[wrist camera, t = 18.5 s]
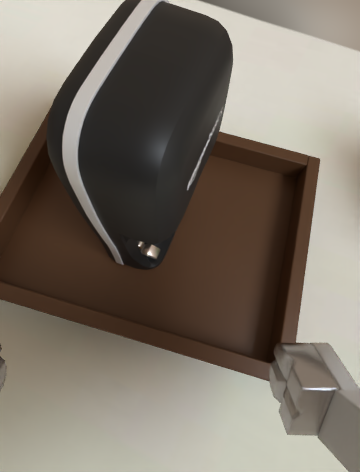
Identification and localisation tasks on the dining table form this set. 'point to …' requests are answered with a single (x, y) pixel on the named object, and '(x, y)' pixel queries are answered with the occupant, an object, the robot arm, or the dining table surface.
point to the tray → (173, 257)
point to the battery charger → (140, 124)
